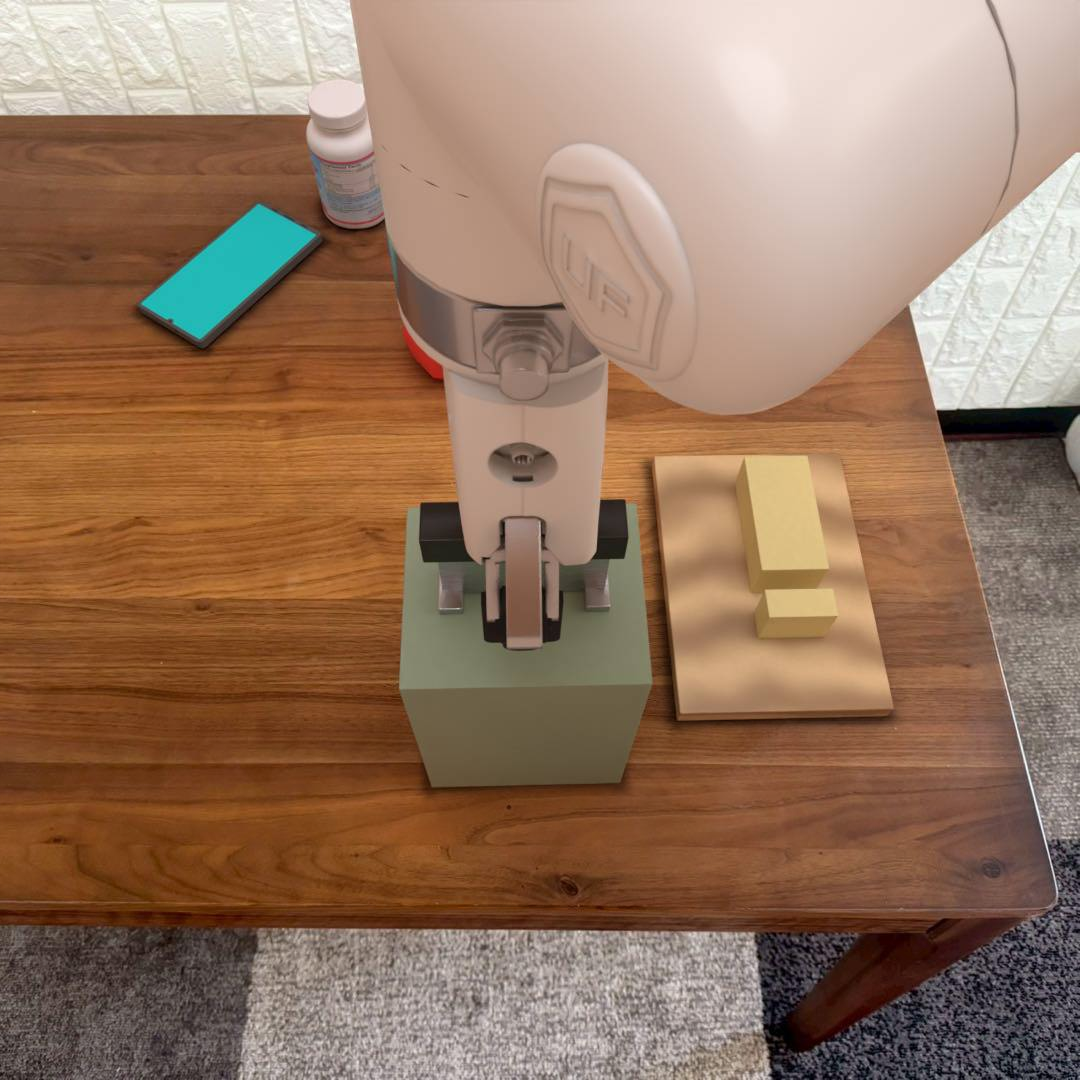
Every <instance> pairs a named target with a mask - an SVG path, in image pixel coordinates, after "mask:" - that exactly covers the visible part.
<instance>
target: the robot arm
mask: <svg viewBox="0 0 1080 1080" xmlns="http://www.w3.org/2000/svg"><path fill="white" fill-rule="evenodd" d="M348 2H349V6H350V13H351V18H352V25H353V32H354V38H355V44H356V49H357V56H358V62H359V69H360V74H361V81H362V87H363V88H362V89H363V91H364V94H365V100H366V106H367V112H368V118H369V124H370V130H371V137H372V143H373V149H374V155H375V161H376V167H377V173H378V179H379V185H380V191H381V197H382V203H383V209H384V217H385V218H384V224H385V231H386V237H387V243H388V250H389V256H390V263H391V269H392V275H393V281H394V286H395V287H394V289H395V295H396V301H397V306H398V311H399V314H400V318H401V321H402V323H403V326H404V325H405V327H406V329H407V331H408V333H409V334H410V336H411V337H412V338H413V340H414V341H415V343H416V344H417V345H418V346H419V347H420V348H421V349H422V350H423V351H424V352H425V353H426V354H427V355H428V356H429V357H431V358H432V359H433V360H435V361H436V362H438V363H439V364H440V365H442V366H443V376H444V379H443V385H444V395H445V403H446V411H447V412H446V415H447V423H448V428H449V429H448V431H449V439H450V447H451V456H452V457H451V458H452V464H453V473H454V481H455V486H456V487H455V488H456V494H457V502H458V503H459V509H460V516H461V523H462V529H463V535H464V541H465V546H466V550H467V552H468V554H469V555H470V556H471V557H472V558H473V559H474V560H475V561H476V562H477V563H479V564H480V565H483V560H485V567H486V590H485V592H481V610H482V622H483V634H484V641H486V642H489V643H501V644H503V647H504V648H505V649H507V650H512V651H530V650H536V649H542V643H546V642H554V641H558V640H559V639H560V634H561V624H562V613H563V603H564V600H563V591H559V562H560V563H561V564H562V565H565V566H568V565H580V564H586V563H587V562H588V561H589V560H590V559H591V558H592V557H593V556H594V554H595V552H596V549H597V533H598V519H599V508H600V499H601V495H602V485H603V472H604V460H605V447H606V432H607V414H608V395H609V393H608V392H609V361H610V362H611V363H613V365H615V366H617V367H618V368H619V369H622V370H623V371H625V372H627V373H629V374H631V375H632V376H633V377H636V378H637V379H639V380H640V381H641V382H643V383H644V384H645V385H646V386H648V387H649V389H651V390H653V391H654V392H656V393H658V394H659V395H660V396H662V397H664V398H666V399H667V400H669V401H672V402H674V403H675V404H678V405H680V406H683V407H685V408H689V409H691V410H695V411H698V412H702V413H705V414H710V415H719V416H734V415H751V414H754V413H759V412H764V411H766V410H769V409H772V408H775V407H778V406H780V405H783V404H784V403H787V402H789V401H791V400H793V399H795V398H797V397H799V396H800V395H803V394H805V393H806V392H808V391H809V390H811V389H812V388H813V387H815V386H816V385H817V384H819V383H820V382H821V381H823V380H824V379H826V378H827V377H828V376H830V375H831V374H832V373H834V372H835V371H836V370H838V369H839V367H841V366H842V365H843V364H844V363H845V362H846V361H848V360H849V359H850V358H851V357H852V356H854V355H855V354H856V353H857V352H858V351H859V350H860V349H861V348H863V346H865V345H866V344H867V343H868V342H870V340H872V338H874V337H875V336H876V335H877V334H878V333H879V332H880V331H881V330H883V329H884V328H885V327H886V326H887V325H888V324H889V323H890V322H891V321H892V320H893V319H894V318H896V317H897V315H899V314H900V313H901V312H902V311H903V310H905V308H907V307H908V306H909V305H910V304H911V303H912V302H914V300H915V299H916V298H918V297H919V295H921V294H922V293H923V292H924V291H925V290H927V289H928V288H929V286H931V285H932V284H933V283H934V282H935V281H936V280H937V279H938V278H939V277H940V276H942V275H943V274H944V273H945V272H946V271H947V270H948V269H949V268H950V267H951V266H953V265H954V264H955V263H956V262H957V261H958V260H960V258H961V257H963V256H964V255H965V253H967V252H968V251H969V250H970V249H971V248H972V247H973V246H975V245H976V244H977V243H978V242H979V241H980V240H982V238H983V237H985V236H986V235H987V234H988V233H989V232H990V231H992V230H993V228H995V227H996V226H997V225H998V224H1000V222H1001V221H1003V220H1004V219H1005V218H1006V217H1007V216H1008V215H1009V214H1010V213H1011V212H1012V211H1014V209H1016V208H1017V207H1018V206H1019V205H1020V204H1021V203H1022V202H1023V201H1025V199H1027V198H1028V197H1029V196H1030V195H1031V194H1032V193H1033V192H1034V191H1036V189H1038V188H1039V187H1040V186H1041V185H1042V184H1043V183H1044V182H1045V181H1046V180H1047V179H1048V178H1050V176H1052V175H1053V174H1054V173H1055V172H1056V171H1057V170H1058V169H1059V168H1061V167H1062V166H1063V165H1064V164H1065V163H1066V162H1067V161H1068V160H1070V159H1071V158H1072V157H1073V156H1074V155H1076V154H1077V153H1078V154H1079V153H1080V0H349V1H348ZM541 521H542V534H545V537H541ZM502 522H505V537H500V535H502ZM541 562H544V588H543V585H542V577H541ZM500 563H506V585H501V588H500Z"/></svg>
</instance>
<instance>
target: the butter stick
mask: <svg viewBox="0 0 1080 1080" xmlns="http://www.w3.org/2000/svg"><path fill="white" fill-rule="evenodd" d="M735 487H736V494H737V501H738V507H739V514H740V521H741V528H742V534H743V541H744V548H745V555H746V562H747V568H748V575H749V582H750V589H751V593H764V591H765V590H778V589H817V588H818V587H819V585H820V583H821V582H822V580H823V578H824V577H825V575H826V573H827V572H828V570H829V565H828V559H827V554H826V549H825V544H824V539H823V534H822V529H821V523H820V518H819V513H818V508H817V503H816V498H815V492H814V487H813V482H812V477H811V472H810V467H809V461H808V456H746V457H744V459H743V462H742V465H741V467H740V470H739V473H738V476H737V479H736V481H735Z"/></svg>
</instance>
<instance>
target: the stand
mask: <svg viewBox="0 0 1080 1080" xmlns="http://www.w3.org/2000/svg"><path fill="white" fill-rule="evenodd" d="M626 509H627V522H628V534H629V539H628V544H627V549H626V554H625V558H624V559H610V561H609V567H608V576H609V590H610V605H611V606H610V611H591V612H587V611H586V610H585V592H563V600H564V603H563V613H562V624H561V634H560V639H559V640H558V641H554V642H546V643H542V649H536V650H530V651H512V650H507V649H505V648H504V647H503V644H501V643H489V642H486V641H484V634H483V622H482V610H481V594H464V596H463V614H439V612H438V591H439V567H438V562H434V563H424V562H423V559H422V554H421V549H420V544H419V524H420V506H413V507H412V506H410V507H409V506H408V507H407V508H406V524H405V526H406V527H405V546H404V568H403V589H402V591H403V592H402V610H401V612H402V613H401V631H400V652H399V653H400V654H399V675H398V691H399V694H400V696H401V699H402V703H403V706H404V709H405V711H406V714H407V717H408V720H409V723H410V727H411V729H412V732H413V735H414V739H415V741H416V744H417V747H418V750H419V752H420V756H421V759H422V762H423V765H424V768H425V771H426V774H427V777H428V780H429V783H430V786H431V788H463V787H464V788H465V787H469V788H470V787H504V786H505V787H507V786H508V787H509V786H546V785H550V786H551V785H589V784H590V785H591V784H592V785H593V784H620V783H621V781H622V778H623V775H624V772H625V769H626V767H627V763H628V759H629V757H630V753H631V750H632V747H633V744H634V741H635V738H636V735H637V732H638V729H639V726H640V723H641V720H642V717H643V713H644V710H645V707H646V705H647V702H648V698H649V696H650V692H651V690H652V686H653V673H652V661H651V654H650V652H651V650H650V640H649V629H648V628H649V627H648V616H647V606H646V595H645V593H646V592H645V584H644V583H645V582H644V572H643V561H642V547H641V537H640V527H639V525H640V524H639V513H638V504H637V503H626Z"/></svg>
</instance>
